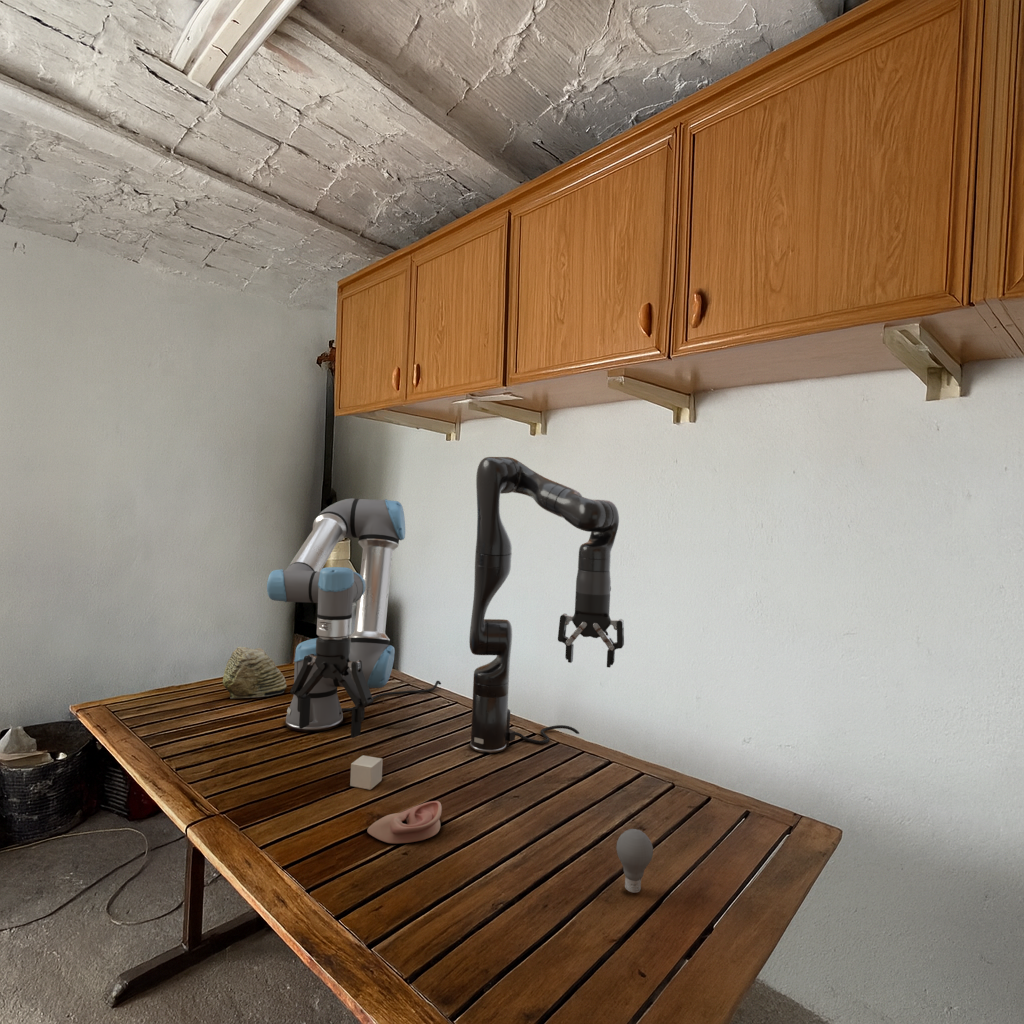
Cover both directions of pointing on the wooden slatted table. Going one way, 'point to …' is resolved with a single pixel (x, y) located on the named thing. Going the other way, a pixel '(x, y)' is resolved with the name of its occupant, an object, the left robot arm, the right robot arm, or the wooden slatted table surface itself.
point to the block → (366, 772)
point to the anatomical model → (408, 824)
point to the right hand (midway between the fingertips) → (589, 664)
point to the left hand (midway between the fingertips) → (329, 731)
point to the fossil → (252, 674)
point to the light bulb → (634, 857)
